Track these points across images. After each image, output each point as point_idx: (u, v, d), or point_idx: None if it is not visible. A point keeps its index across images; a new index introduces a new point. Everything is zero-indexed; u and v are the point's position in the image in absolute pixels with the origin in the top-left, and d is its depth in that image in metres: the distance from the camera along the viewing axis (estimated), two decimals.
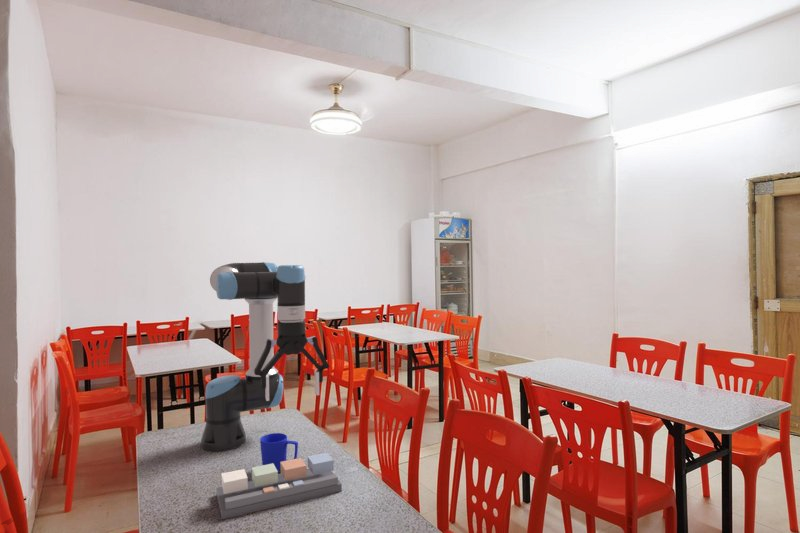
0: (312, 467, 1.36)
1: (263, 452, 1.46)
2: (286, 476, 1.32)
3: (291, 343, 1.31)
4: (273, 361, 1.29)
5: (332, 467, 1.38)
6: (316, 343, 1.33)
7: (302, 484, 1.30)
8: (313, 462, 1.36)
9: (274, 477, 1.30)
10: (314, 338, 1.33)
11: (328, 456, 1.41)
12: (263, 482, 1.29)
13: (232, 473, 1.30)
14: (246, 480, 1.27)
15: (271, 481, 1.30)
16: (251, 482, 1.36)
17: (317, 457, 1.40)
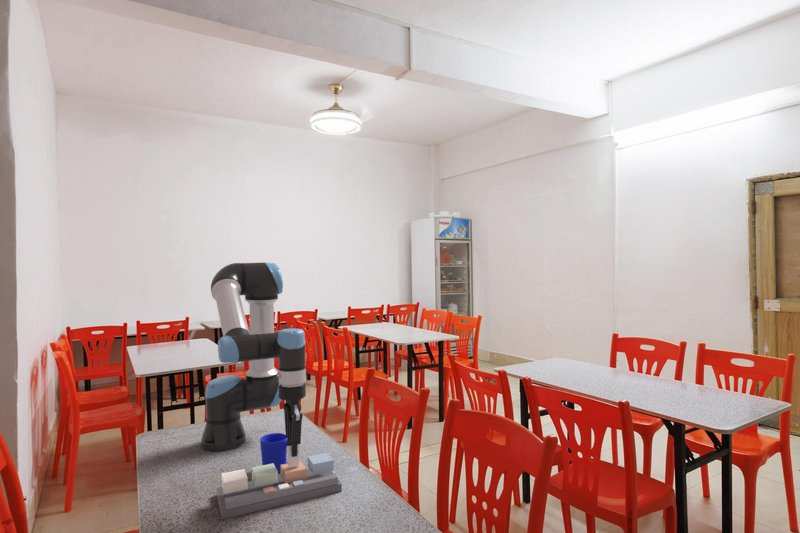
0: (312, 467, 1.36)
1: (263, 452, 1.46)
2: (286, 479, 1.32)
3: (288, 405, 1.35)
4: (287, 425, 1.36)
5: (332, 467, 1.38)
6: (292, 420, 1.30)
7: (302, 484, 1.30)
8: (313, 462, 1.36)
9: (274, 477, 1.30)
10: (293, 415, 1.30)
11: (328, 456, 1.41)
12: (263, 482, 1.29)
13: (232, 473, 1.30)
14: (246, 480, 1.27)
15: (271, 481, 1.30)
16: (251, 482, 1.36)
17: (317, 457, 1.40)
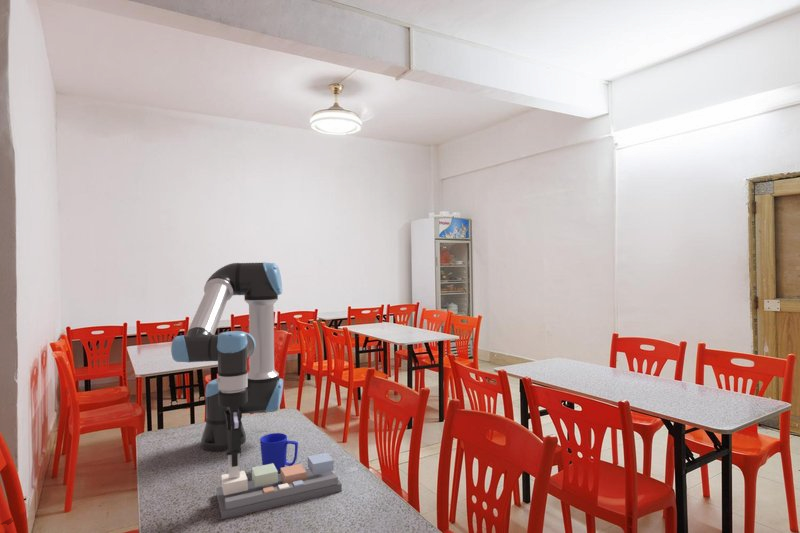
0: (312, 467, 1.36)
1: (263, 452, 1.46)
2: (286, 482, 1.32)
3: (228, 412, 1.28)
4: (228, 433, 1.29)
5: (332, 467, 1.38)
6: (231, 428, 1.23)
7: (302, 484, 1.30)
8: (313, 462, 1.36)
9: (274, 477, 1.30)
10: (231, 423, 1.23)
11: (328, 456, 1.41)
12: (263, 482, 1.29)
13: None
14: (246, 481, 1.27)
15: (271, 481, 1.30)
16: (251, 482, 1.36)
17: (317, 457, 1.40)
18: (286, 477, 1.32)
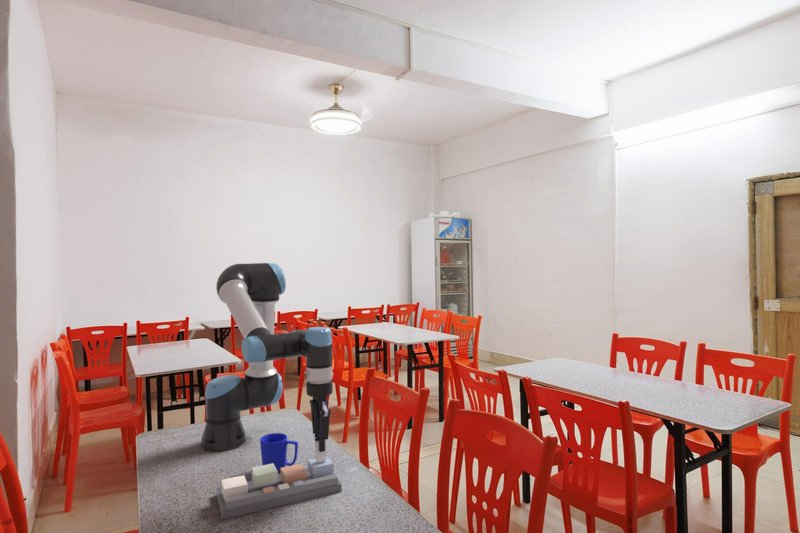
0: (312, 470, 1.36)
1: (263, 452, 1.46)
2: (286, 482, 1.32)
3: (315, 402, 1.39)
4: (314, 421, 1.40)
5: (332, 470, 1.38)
6: (321, 416, 1.34)
7: (302, 484, 1.30)
8: (313, 465, 1.36)
9: (274, 477, 1.30)
10: (321, 411, 1.33)
11: (328, 459, 1.41)
12: (263, 482, 1.29)
13: (232, 479, 1.30)
14: (246, 486, 1.27)
15: (271, 481, 1.30)
16: (251, 482, 1.36)
17: None
18: (286, 477, 1.32)
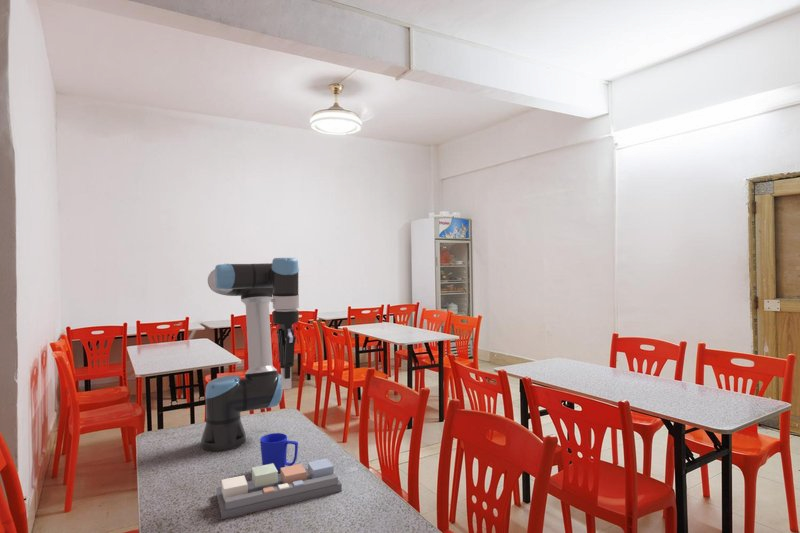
0: (312, 473, 1.36)
1: (263, 452, 1.46)
2: (286, 482, 1.32)
3: None
4: (280, 349, 1.42)
5: (332, 473, 1.38)
6: (286, 342, 1.36)
7: (302, 484, 1.30)
8: (313, 468, 1.37)
9: (274, 477, 1.30)
10: (286, 337, 1.36)
11: (328, 462, 1.41)
12: (263, 482, 1.29)
13: (232, 479, 1.30)
14: (246, 486, 1.27)
15: (271, 481, 1.30)
16: (251, 482, 1.36)
17: (317, 463, 1.40)
18: (286, 477, 1.32)
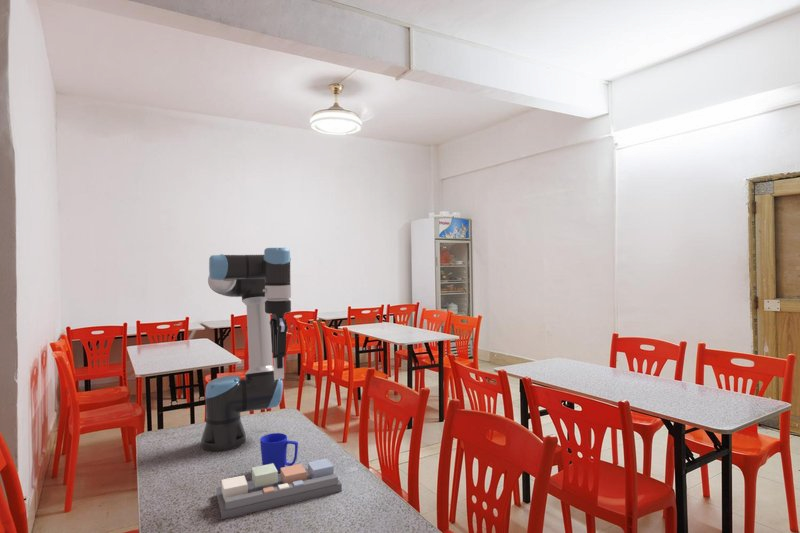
0: (312, 473, 1.36)
1: (263, 452, 1.46)
2: (286, 482, 1.32)
3: (274, 320, 1.41)
4: (273, 340, 1.42)
5: (332, 473, 1.38)
6: (278, 331, 1.36)
7: (302, 484, 1.30)
8: (313, 468, 1.37)
9: (274, 477, 1.30)
10: (278, 326, 1.36)
11: (328, 462, 1.41)
12: (263, 482, 1.29)
13: (232, 479, 1.30)
14: (246, 486, 1.27)
15: (271, 481, 1.30)
16: (251, 482, 1.36)
17: (317, 463, 1.40)
18: (286, 477, 1.32)
